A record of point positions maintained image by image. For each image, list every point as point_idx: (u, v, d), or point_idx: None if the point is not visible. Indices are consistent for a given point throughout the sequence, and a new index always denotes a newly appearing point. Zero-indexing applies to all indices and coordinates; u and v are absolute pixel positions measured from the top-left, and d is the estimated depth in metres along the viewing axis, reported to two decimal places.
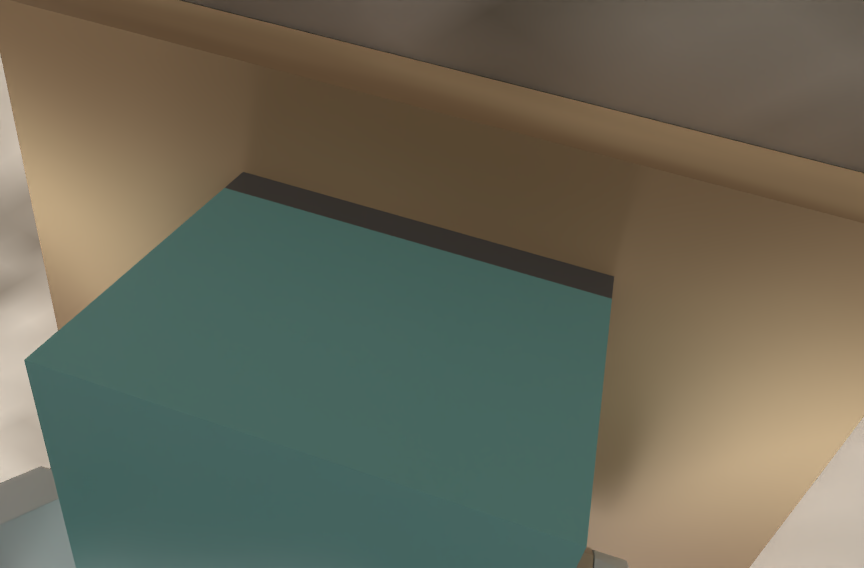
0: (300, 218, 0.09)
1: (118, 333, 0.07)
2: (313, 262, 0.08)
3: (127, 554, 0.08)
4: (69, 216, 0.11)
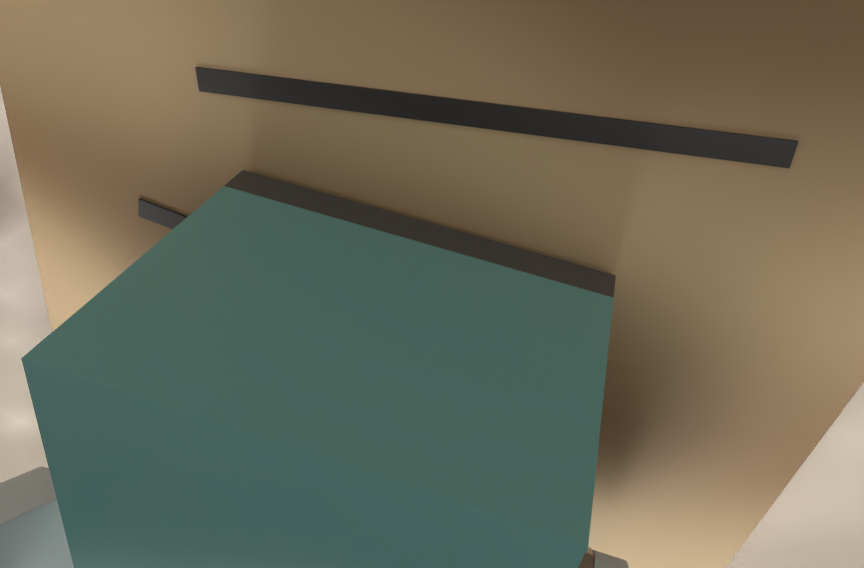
0: (300, 217, 0.09)
1: (116, 331, 0.07)
2: (313, 261, 0.08)
3: (124, 554, 0.07)
4: None
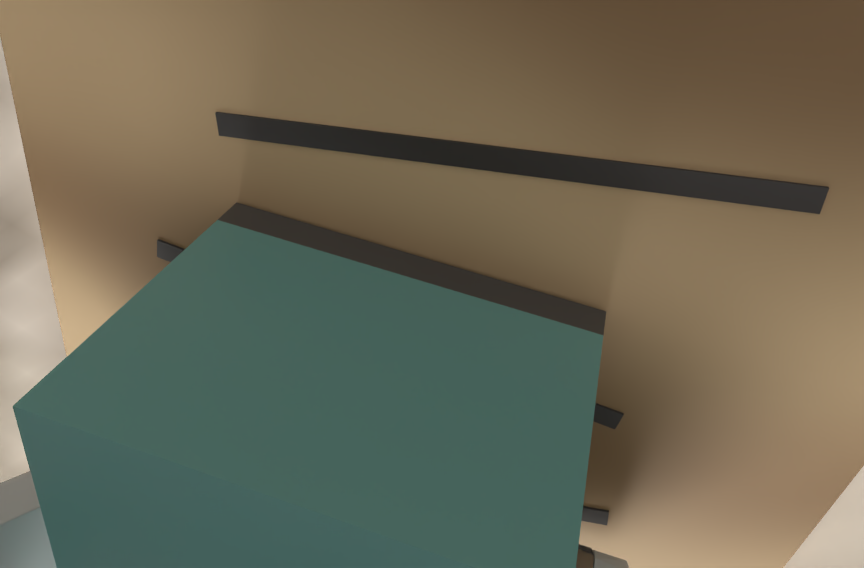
0: (292, 252, 0.09)
1: (108, 376, 0.07)
2: (304, 299, 0.08)
3: None
4: None
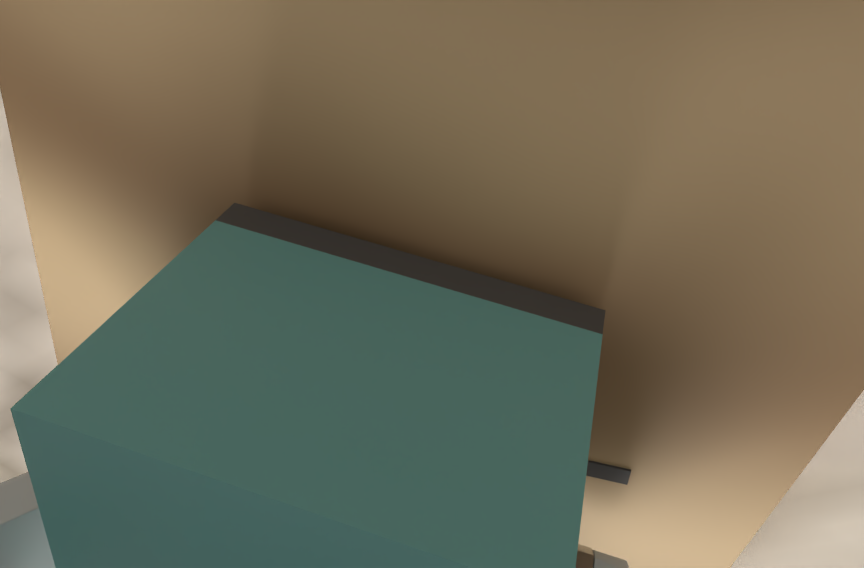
0: (291, 252, 0.09)
1: (106, 378, 0.07)
2: (303, 299, 0.08)
3: None
4: None
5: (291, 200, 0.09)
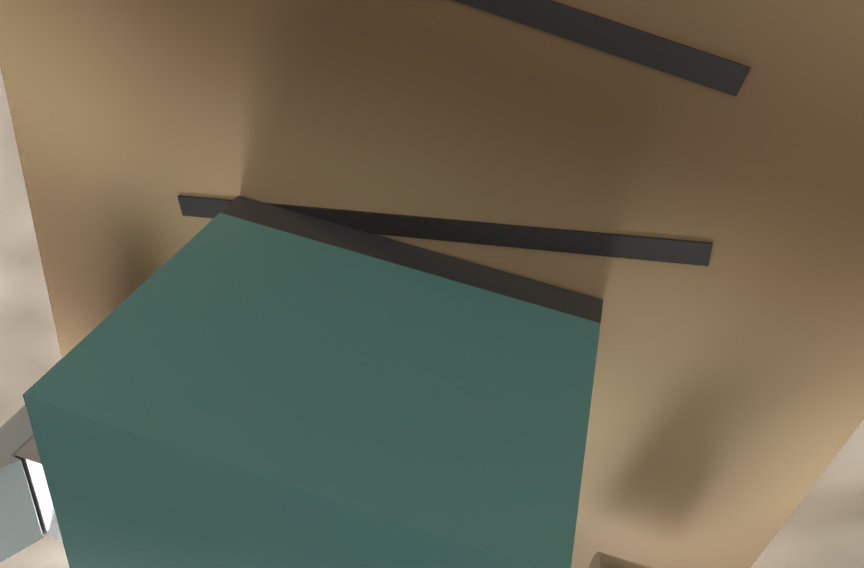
0: (294, 243, 0.09)
1: (115, 365, 0.07)
2: (306, 289, 0.08)
3: None
4: None
5: None
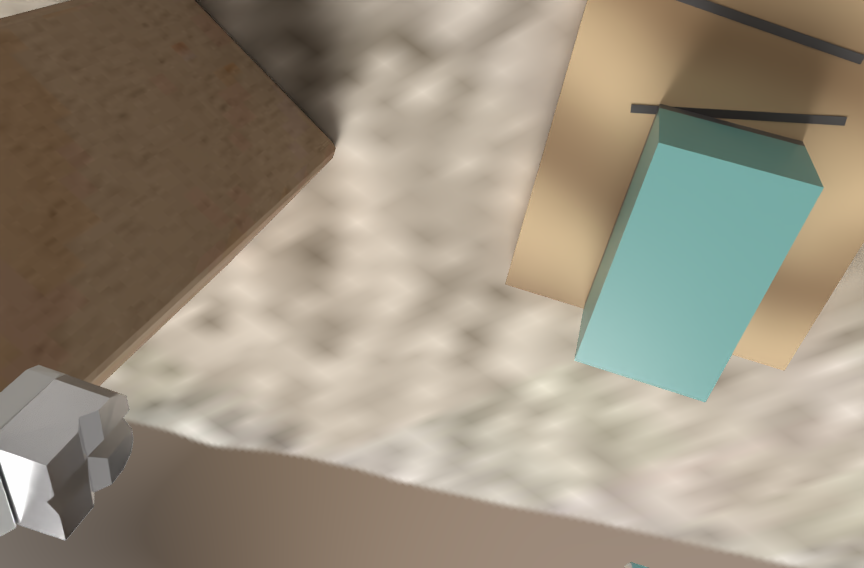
0: (691, 118, 0.24)
1: (673, 139, 0.22)
2: (707, 129, 0.24)
3: (652, 220, 0.23)
4: None
5: None
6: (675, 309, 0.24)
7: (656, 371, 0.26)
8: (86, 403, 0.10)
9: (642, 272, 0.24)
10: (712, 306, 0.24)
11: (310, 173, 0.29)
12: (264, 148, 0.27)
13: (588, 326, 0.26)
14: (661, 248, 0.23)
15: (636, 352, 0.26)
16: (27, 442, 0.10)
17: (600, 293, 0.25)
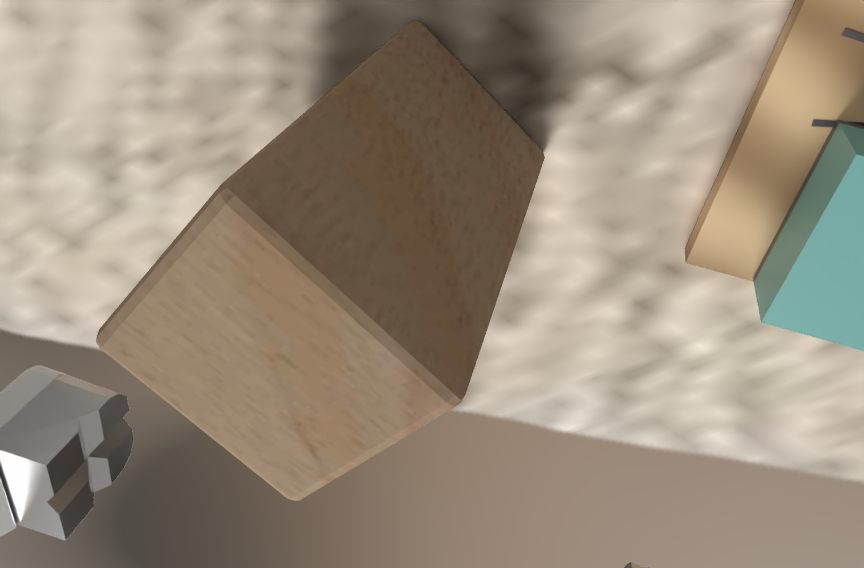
0: None
1: None
2: None
3: (843, 212, 0.30)
4: None
5: None
6: (853, 280, 0.32)
7: (829, 328, 0.33)
8: (86, 403, 0.10)
9: (828, 252, 0.31)
10: None
11: (537, 177, 0.36)
12: (511, 159, 0.34)
13: (777, 295, 0.33)
14: (847, 233, 0.31)
15: (815, 314, 0.33)
16: (27, 442, 0.10)
17: (791, 269, 0.32)
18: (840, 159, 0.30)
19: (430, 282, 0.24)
